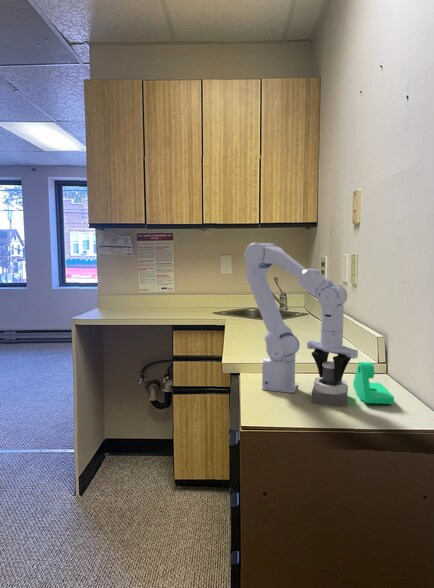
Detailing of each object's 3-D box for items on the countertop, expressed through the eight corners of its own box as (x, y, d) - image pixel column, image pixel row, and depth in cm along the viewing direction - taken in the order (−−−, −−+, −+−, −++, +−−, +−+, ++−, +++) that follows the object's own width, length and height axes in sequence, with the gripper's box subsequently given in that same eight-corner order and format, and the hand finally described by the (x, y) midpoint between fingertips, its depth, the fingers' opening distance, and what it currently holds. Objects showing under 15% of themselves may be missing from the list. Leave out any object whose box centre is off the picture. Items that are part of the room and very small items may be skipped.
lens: (332, 388, 105) (333, 366, 104) (318, 384, 108) (318, 363, 107) (342, 385, 107) (343, 363, 107) (328, 381, 111) (328, 360, 110)
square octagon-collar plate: (311, 403, 105) (311, 385, 105) (314, 391, 114) (315, 375, 113) (346, 407, 102) (347, 388, 102) (347, 395, 111) (348, 378, 110)
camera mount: (394, 407, 103) (396, 369, 102) (364, 406, 103) (366, 368, 102) (380, 391, 115) (381, 357, 113) (353, 390, 115) (354, 356, 114)
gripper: (364, 332, 103) (362, 382, 105) (318, 324, 114) (316, 369, 116) (350, 335, 99) (348, 388, 100) (303, 327, 110) (302, 374, 111)
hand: (330, 378), depth 108 cm, fingers closed on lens, 4 cm apart
